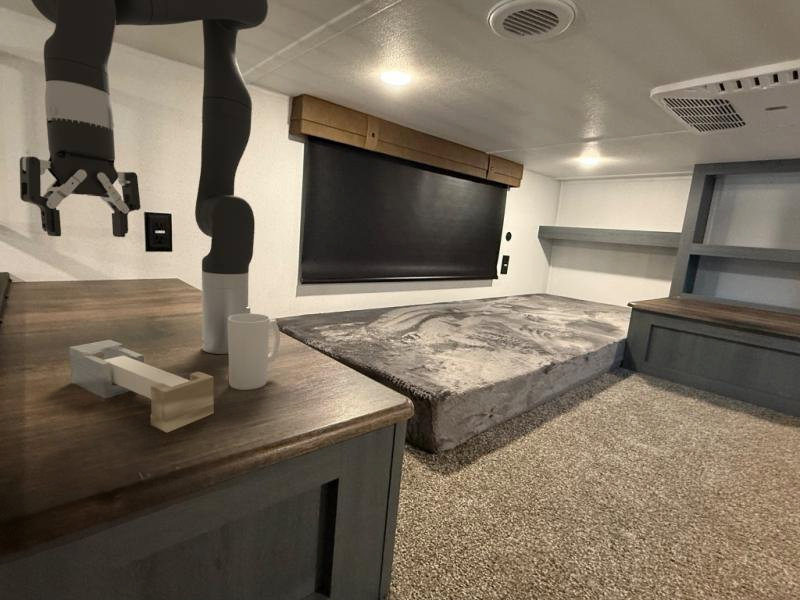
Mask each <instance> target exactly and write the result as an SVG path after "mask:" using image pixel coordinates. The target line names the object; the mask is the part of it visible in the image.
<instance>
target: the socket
mask: <svg viewBox="0 0 800 600" xmlns="http://www.w3.org/2000/svg"><path fill="white" fill-rule="evenodd" d="M189 380H190V381H189V382H186V383H183V384H179V385H176V386H173V387H170V386H168V385H165V384H163V383H159V384H156V385H152V386H151V399H150V400H151V402H150V404H151V406H150V407H151V414H150V426H152V427H154V428H156V429H159V430H160V431H162V432H164V433H169V432H172V431H174V430H177V429H179V428H182V427H185V426H186V425H189V424H191V423H193V422H196V421H199V420H201V419H203V418H205V417H208V416H210V415H212V414H215V413H214V411H215V404H214V395H215V394H214V375H210V374H206V373H205V372H201V371H195V372H191V373H190V374H189Z"/></svg>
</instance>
